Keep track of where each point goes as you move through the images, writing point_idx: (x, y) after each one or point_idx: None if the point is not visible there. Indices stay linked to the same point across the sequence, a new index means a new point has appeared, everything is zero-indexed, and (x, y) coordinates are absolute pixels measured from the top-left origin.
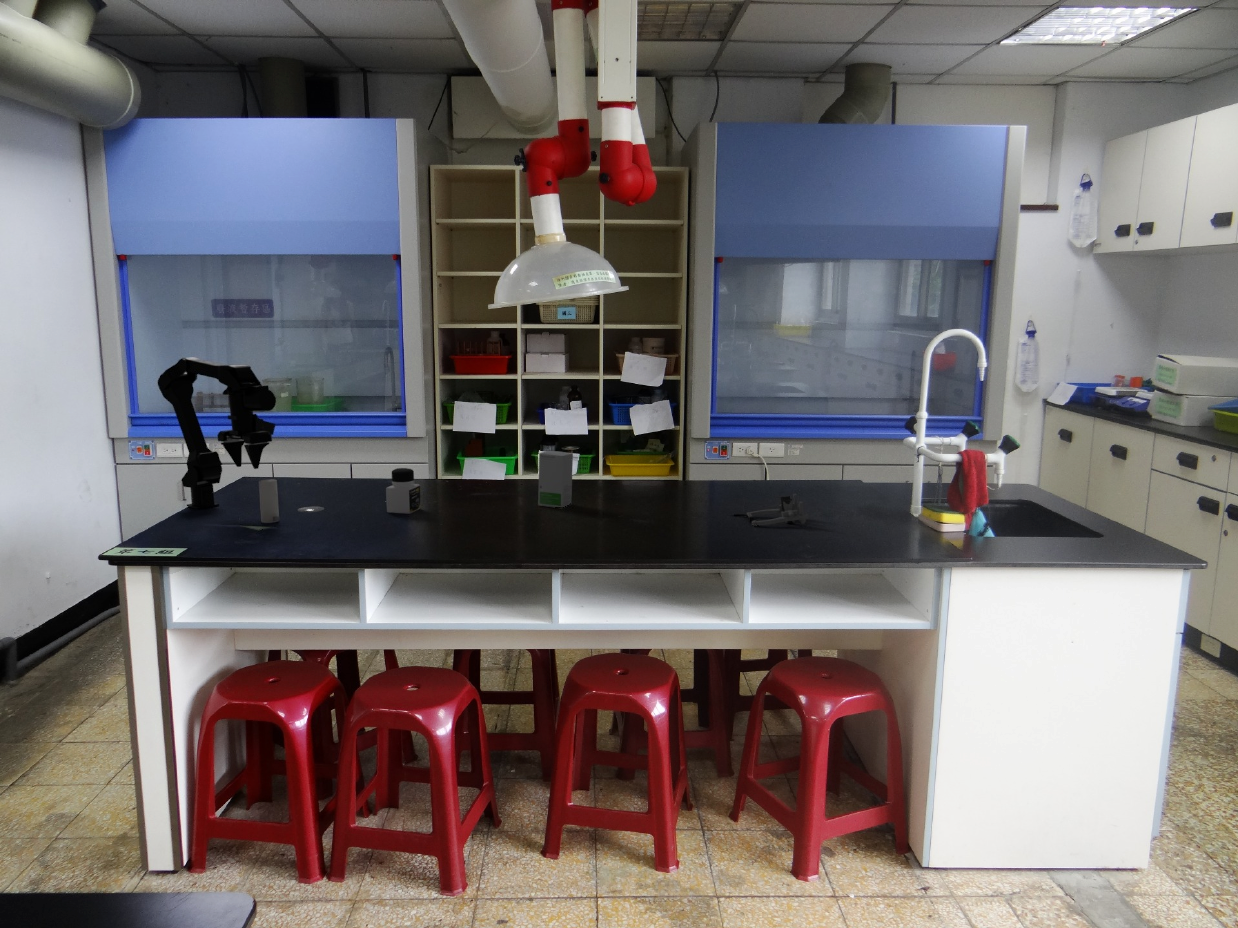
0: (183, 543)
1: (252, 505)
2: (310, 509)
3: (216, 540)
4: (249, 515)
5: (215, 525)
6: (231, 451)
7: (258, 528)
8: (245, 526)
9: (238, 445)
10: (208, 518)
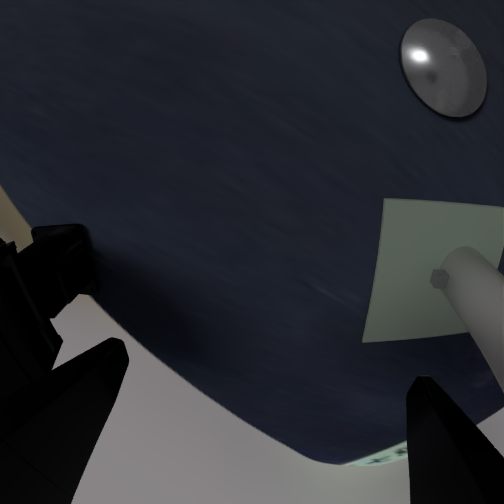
0: (397, 433)
1: (147, 137)
2: (450, 70)
3: None
4: (310, 246)
5: (337, 367)
6: (73, 479)
7: None
8: (429, 336)
9: (3, 477)
10: (237, 339)
